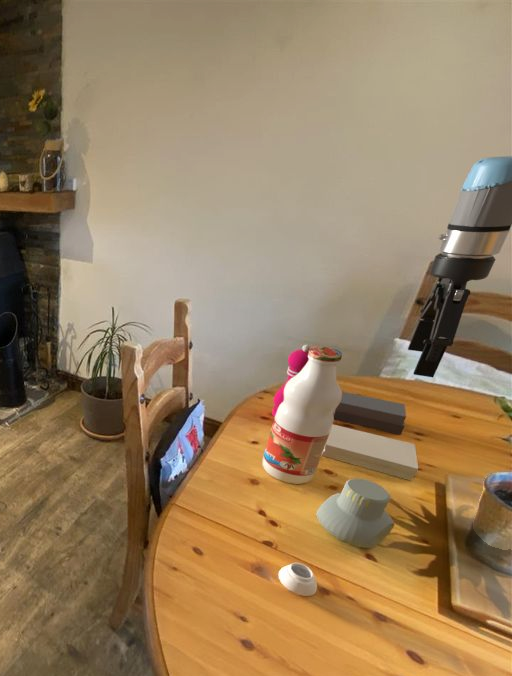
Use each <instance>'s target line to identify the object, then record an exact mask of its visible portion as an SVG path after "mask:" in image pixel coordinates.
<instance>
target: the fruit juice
mask: <svg viewBox="0 0 512 676" xmlns="http://www.w3.org/2000/svg"><path fill="white" fill-rule="evenodd" d="M342 357H343V354H342V352H341V351H340V350H338V349H336V348H332V347H327V346H313V347H311V349H310V351H309V353H308V358H309V360H308V362H307V364H306V365H305V366H304V368H303V369H302V370H301V371H300V372H299V373H298V374H297V375H296V376H294V377H293V378H291V379H290V380H289V381H288V382H287V383H286V382H285V383H286V385H285V388H284V401H283V402H282V403H281V404H280V405H279V407H278V409H277V412H276V415H275V417H274V419H273V423H272V424H271V425H272V426H271V429H270V433H269V436H268V439H267V442H266V445H265V449H264V452H263V455H262V460H261V461H262V462H261V464H262V468H263V469H264V471H265V472H266V473H267V474H268V475H270V476H271V477H273V478H274V479H277V480H279V481H281V482H284V483H289V484H295V485H296V484H297V485H300V484H306V483H309V482H310V481H311V480H313V478H314V476H315V474H316V472H317V469H318V465H319V463H320V460H321V458H322V453H323V450H324V447H325V445H326V442H327V439H328V437H329V434H330V432H331V429H332V426H333V425H334V422H335V419H334V415H333V412H334V410H335V409H336V408H337V407H338V405H339V404H340V402H341V399H342V392H343V391H342V388H341V386H340V385H339V383H338V381H337V365H338V364H339V363H341V360H342Z"/></svg>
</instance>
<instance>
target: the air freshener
mask: <svg viewBox="0 0 512 676" xmlns="http://www.w3.org/2000/svg"><path fill="white" fill-rule="evenodd" d="M390 500H391V495H390V493H389V492H388V491H387V490H386V488H384V487H383V486H382V485H380V484H378V483H376V482H374V481H372V480H369V479H364V478H351V479H348V480H346V481H345V483H344V485H343V488H342V490H341V492H338V493H335V494H332V495H330V496H329V497H328V498H327V499H326V500H325V501H324V502H323V503H322V504H321V505H320V506H319V507H318V508H317V510H316V513H315V516H316V518H317V520H318V522H319V523H320V525H321V526H322V527H323V529H324V530H325V531H327V532H328V533H329V534H330V535H331V536H333V537H334V538H336V539H338V540H339V541H341V542H344V543H346V544H349V545H351V546H354V547H359V548H364V549H373V548H374V547H376V546H378V545H379V544H380V543H381V542H382V541H383V540H385V538H386V537H387V536H389V534H390V533H391V531H392V530H393V528H394V526H395V521H394V520H393V519H392V516H390V515H389V513H388V512H387V511H386V508H387V507H388V504H389V502H390Z"/></svg>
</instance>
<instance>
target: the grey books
mask: <svg viewBox="0 0 512 676" xmlns="http://www.w3.org/2000/svg"><path fill="white" fill-rule="evenodd" d="M333 415H334V421H339V422H342V423H343V422H344V423H348V424H352V425H356V426H361V427H365V428H369V429H374V430H377V431H382V432H386V433H390V434H394V435H399V436H401V435H402V433H403V432H404V429H405V427H406V425H405V420H406V419H407V413H406V406H405V403H400V402H396V401H391V400H387V399H381V398H376V397H372V396H371V397H370V396H365V395H361V394H356V393H352V392H346V391H342V399H341V402H340V404H339V405H338V407H337V408H336V409H335V410H334V412H333Z"/></svg>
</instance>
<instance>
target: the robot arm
mask: <svg viewBox="0 0 512 676" xmlns="http://www.w3.org/2000/svg"><path fill="white" fill-rule="evenodd" d="M511 227H512V155H508V156H507V155H506V156H504V155H503V156H492V157H491V156H490V157H485V158H481V159H479V160H478V161H476V162H475V163H473V165H472V166H471V169H470V171H469V172H468V174H467V176H466V179H465V181H464V182H463V185H462V186H461V187H460V193H459V196H458V199H457V202H456V205H455V206H454V209H453V212H452V215H451V217H450V220H449V223H448V225H447V228H446V231H445V232H446V233H442V234H439V235H438V240H439V241H441V243H440V245H439V246H438V247H439V248H438V251H439V253H438V254H436V255H435V256H434V259H433V261H432V264H431V267H430V269H429V275H431V276H433V277H435V278H437V279H436V282H435V283H434V286H433V288H432V289H431V291H430V292H429V294H428V297H427V299H426V300H425V302H424V304H423V306H422V308H421V309H420V316H419V318H420V319H419V320H418V322H417V325H416V327H415V330H414V332H413V335H412V337H411V341H410V342H409V345H408V347H407V350H408V351H412V352H414V351H415V352H419V353H420V352H421V354H420V357H419V360H418V361H417V362H416V363H417V364H416V366H415V368H414V370H413V374H412V375H414V376H421V377H426V378H434V377H435V374H436V372H437V370H438V368H439V365H440V363H441V361H442V359H443V357H444V355H445V353H446V350H447V348H448V347H452V346H453V344H454V343H455V342H454V340H455V338H456V334H457V331H458V328H459V324H460V322H461V318H462V316H463V312H464V309H465V306H466V303H467V301H468V298H469V296H470V295H471V290H470V289H468V288H467V284H468V282H470V281H480V280H484V279H486V278H488V277H489V274H490V272H491V270H492V268H493V266H494V264H495V262H496V258H495V257H494V256H495V255H498V254H500V252H501V250H502V247H503V246H504V243H505V241H506V239H507V237H508V235H509V233H510V231H511Z"/></svg>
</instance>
